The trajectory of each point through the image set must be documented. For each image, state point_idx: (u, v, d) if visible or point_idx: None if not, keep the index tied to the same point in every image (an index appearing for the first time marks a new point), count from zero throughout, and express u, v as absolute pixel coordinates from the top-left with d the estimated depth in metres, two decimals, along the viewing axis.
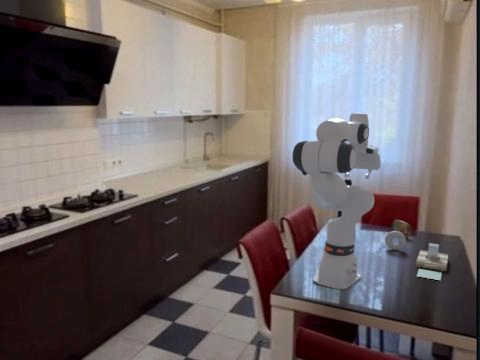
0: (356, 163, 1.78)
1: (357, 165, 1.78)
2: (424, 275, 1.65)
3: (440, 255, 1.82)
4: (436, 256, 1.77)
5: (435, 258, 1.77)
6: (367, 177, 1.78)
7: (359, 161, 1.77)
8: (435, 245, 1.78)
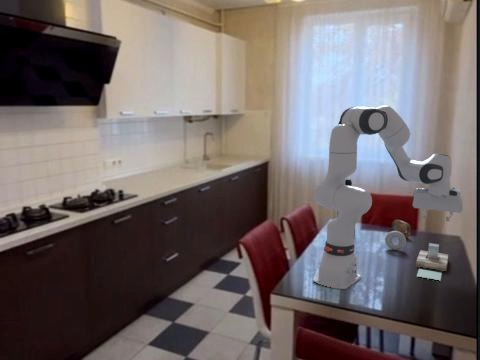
0: (437, 205, 1.74)
1: (438, 207, 1.74)
2: (424, 275, 1.65)
3: (440, 255, 1.82)
4: (436, 256, 1.77)
5: (435, 258, 1.77)
6: (448, 220, 1.73)
7: (440, 203, 1.73)
8: (435, 245, 1.78)
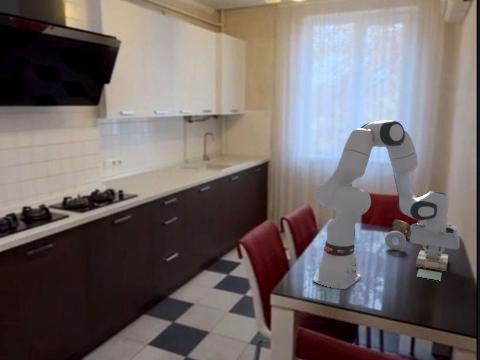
0: (434, 241, 1.76)
1: (435, 243, 1.76)
2: (424, 275, 1.65)
3: None
4: (436, 256, 1.77)
5: (435, 258, 1.77)
6: (440, 255, 1.77)
7: (437, 239, 1.76)
8: None
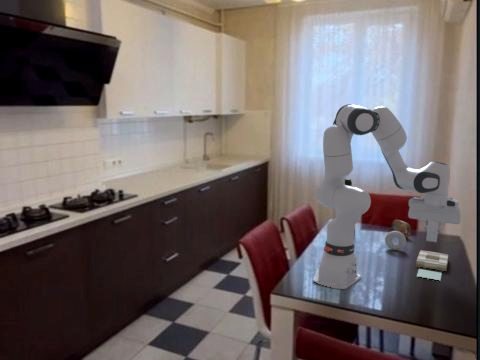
0: (433, 215, 1.65)
1: (435, 218, 1.65)
2: (424, 275, 1.65)
3: (440, 255, 1.82)
4: (436, 232, 1.65)
5: (435, 234, 1.66)
6: (440, 231, 1.66)
7: (437, 214, 1.65)
8: None
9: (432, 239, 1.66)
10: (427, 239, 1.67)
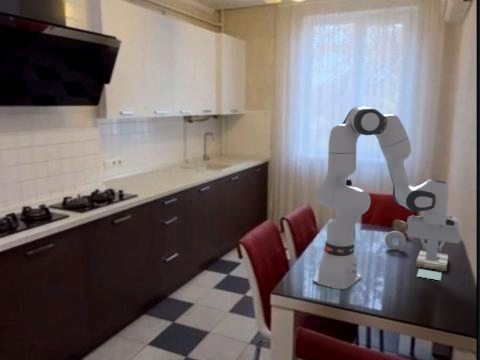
0: (433, 234, 1.62)
1: (434, 236, 1.61)
2: (424, 275, 1.65)
3: (440, 255, 1.82)
4: (435, 251, 1.62)
5: (434, 253, 1.62)
6: (439, 249, 1.62)
7: (436, 232, 1.61)
8: None
9: (432, 258, 1.63)
10: (427, 258, 1.64)
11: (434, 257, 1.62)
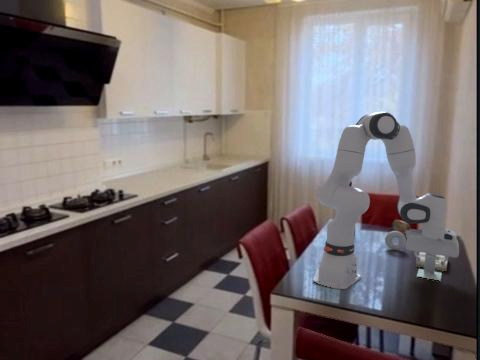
0: (431, 248, 1.63)
1: (433, 250, 1.62)
2: (424, 275, 1.65)
3: (440, 255, 1.82)
4: (433, 266, 1.63)
5: (432, 268, 1.63)
6: (443, 264, 1.62)
7: (434, 246, 1.62)
8: (432, 254, 1.64)
9: (430, 274, 1.64)
10: (424, 273, 1.65)
11: (432, 273, 1.63)
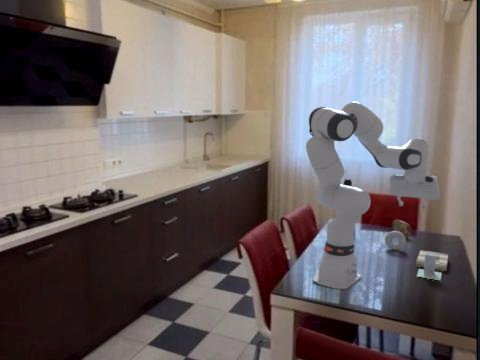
0: (413, 192, 1.69)
1: (414, 194, 1.69)
2: (424, 275, 1.65)
3: (440, 255, 1.82)
4: (433, 266, 1.63)
5: (432, 268, 1.63)
6: (424, 207, 1.69)
7: (416, 190, 1.69)
8: (432, 254, 1.64)
9: (430, 274, 1.64)
10: (424, 273, 1.65)
11: (432, 273, 1.63)
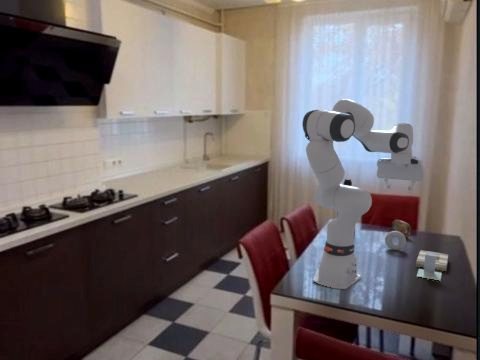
0: (399, 174, 1.76)
1: (401, 176, 1.76)
2: (424, 275, 1.65)
3: (440, 255, 1.82)
4: (433, 266, 1.63)
5: (432, 268, 1.63)
6: (410, 189, 1.75)
7: (402, 172, 1.75)
8: (432, 254, 1.64)
9: (430, 274, 1.64)
10: (424, 273, 1.65)
11: (432, 273, 1.63)
